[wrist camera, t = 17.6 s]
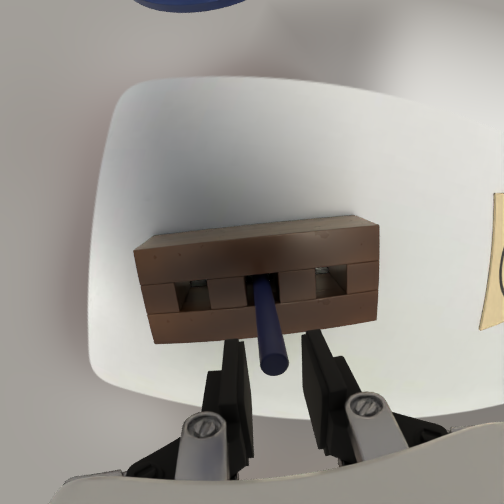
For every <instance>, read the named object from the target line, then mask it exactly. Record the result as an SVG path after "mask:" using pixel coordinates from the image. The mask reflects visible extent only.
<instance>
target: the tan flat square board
mask: <svg viewBox="0 0 504 504" xmlns="http://www.w3.org/2000/svg"><path fill="white" fill-rule="evenodd" d="M503 322H504V193H494V220H493V238H492V251H491V261H490V269H489V277H488V284H487V290H486V296H485V302H484V307H483V312H482V317H481V322H480V326H479V330H480V331H481V330H484V329H487V328H489V327H492V326H495V325H497V324H500V323H503Z"/></svg>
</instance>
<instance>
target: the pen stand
mask: <svg viewBox="0 0 504 504" xmlns="http://www.w3.org/2000/svg"><path fill="white" fill-rule="evenodd" d="M133 252H134V257H135V263H136V268H137V273H138V277H139V282H140V285H141V291H142V295H143V299H144V304H145V308H146V312H147V316H148V320H149V324H150V328H151V332H152V336H153V340H154V343H155V344H172V343H192V342H208V341H221V340H225V339H236V338H238V339H245V338H255V337H258V335H257V324H256V313H255V302H254V290H253V281H252V282H247V278H246V275H255V274H265V273H273V279H271V280H269V281H270V285H271V289H272V294H273V298H274V302H275V306H276V310H277V314H278V318H279V323H280V327H281V331H282V334H291V333H298V332H306V331H308V330H315V329H327V328H334V327H340V326H346V325H352V324H358V323H364V322H369V321H375V320H377V305H378V286H379V225H378V224H375V223H373V222H370V221H368V220H365V219H363V218H360V217H358V216H355V215H349V216H337V217H326V218H314V219H303V220H292V221H282V222H272V223H262V224H252V225H242V226H233V227H224V228H215V229H206V230H197V231H188V232H180V233H172V234H163V235H155V236H153V237H151V238H150V239H148V240H147V241H146V242H144V243H143V244H142V245H140V246H139V247H137V248H136V249H135V250H133ZM328 266H329V273H324V274H315V268H319V267H328ZM205 279H207V286H201V287H191V285H190V281H195V280H205Z"/></svg>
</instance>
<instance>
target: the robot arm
mask: <svg viewBox="0 0 504 504" xmlns="http://www.w3.org/2000/svg"><path fill="white" fill-rule="evenodd" d="M301 341H302V383H303V392H304V396H305V400H306V404H307V408H308V411H309V415H310V419H311V422H312V426H313V431H314V434H315V438H316V442H317V446H318V449H324V453H325V456H328V455H332V456H334V457H336V458H338V465H339V467H338V468H333V469H328V470H323V471H317V472H311V473H305V474H298V475H291V476H284V477H274V478H263V479H251V480H239V474H238V472H239V471H240V470H241V469H243V468H244V467H245V466H249V458H254V449H253V425H252V400H251V389H250V382H249V375H248V368H247V360H246V353H245V346H244V341H241V342H239V339H238V338H236V339H225V342H224V352H223V362H222V370H219V371H208V374H207V379H206V386H205V392H204V398H203V405H202V411H201V412H198V413H196V414H193V415H191V416H190V417H188V418H187V419H186V420H185V422H184V424H183V427H182V432H181V437H179V438H178V439H176V440H175V441H173V442H171V443H170V444H168V445H166V446H164V447H163V448H161V449H159V450H157V451H156V452H154V453H152V454H150V455H149V456H147V457H145V458H143V459H141V460H139V461H138V462H136V463H134V464H133V465H131V467H130V468H129V469H128V470H127V471H125V472H122V471H121V470H115V471H109V472H104V473H97V474H91V475H84V476H76V477H72V478H70V479H68V480H67V481H65V483H64V484H63V486H62V487H61V488H60V489H59V490H58V491H57V492H56V493H55V494H54V496H53V497H52V499H51V500H50V502H49V504H504V422H493V423H486V424H480V425H476V426H475V425H474V426H463V427H462V426H461V427H451V428H450V430H446V429H445V428H443V427H442V426H440V425H437V424H434V423H430V422H426V421H423V420H419V419H415V418H412V417H408V416H405V415H401V414H398V413H394V412H392V411H391V410H390V408H389V406H388V404H387V402H386V400H385V399H384V398H383V397H382V396H381V395H379V394H377V393H374V392H361V390H360V388H359V386H358V384H357V382H356V380H355V378H354V376H353V374H352V372H351V370H350V368H349V366H348V364H347V362H346V360H345V358H344V357H343V356H338V357H333V356H332V354H331V352H330V350H329V347H328V345H327V343H326V341H325V339H324V337H323V335H322V333H321V330H320V329H315V330H308V331H306V334H304V335H302V336H301Z"/></svg>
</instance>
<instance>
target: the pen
mask: <svg viewBox="0 0 504 504" xmlns="http://www.w3.org/2000/svg"><path fill="white" fill-rule="evenodd" d="M252 279H253V290H254V302H255V313H256V324H257V335H258V347H259V358H260V367H261V370H262V371H263V372H264V373H265V374H267V375H270V376H277V375H280V374H282V373H284V372H285V371H286V370H287V368H288V366H289V360H288V356H287V352H286V348H285V343H284V339H283V335H282V331H281V327H280V323H279V318H278V314H277V310H276V306H275V302H274V298H273V294H272V289H271V285H270V281H269V277H268V273H265V274H255V275H252Z"/></svg>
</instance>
